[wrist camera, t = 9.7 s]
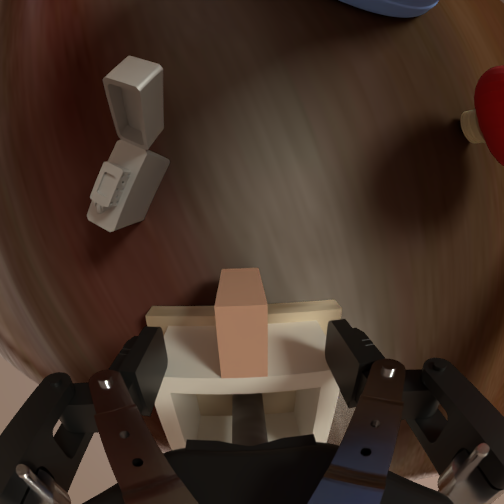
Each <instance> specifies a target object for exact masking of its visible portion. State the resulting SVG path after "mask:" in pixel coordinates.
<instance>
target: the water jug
mask: <svg viewBox="0 0 504 504" xmlns="http://www.w3.org/2000/svg"><path fill="white" fill-rule="evenodd" d="M339 1H341V2H344V3H346V4H349V5H352V6H354V7H357V8H360V9H363V10H366V11H369V12H373V13H377V14H381V15H386V16H391V17H400V18H409V17H416V16H420V15H422V14H424V13H426V12H427V11H429V10H430V9H431V8H433V7H434V6H435V5H436V4H437V3H438V1H439V0H339Z"/></svg>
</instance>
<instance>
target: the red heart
mask: <svg viewBox="0 0 504 504" xmlns="http://www.w3.org/2000/svg"><path fill="white" fill-rule="evenodd" d="M474 103H475V109H474V110H470V111H465V112H463V113H462V115H461V129H462V131H463V133H464V135H465V137H466V138H467V139H468V141H470V142H471V143H483V142H484V143H485V142H486V144H487V146H488V148H489V150H490V152H491V153H492V155H493V156H494V157H495V158H496V160H497V161H498V162H499V163H500V164H501V165H503V166H504V65H503V66H496V67H493V68H490V69H489V70H487V71H486V72H485V73H484V74H483V75H482V76H481V77H480V79H479V81H478V83H477V86H476V89H475V95H474Z"/></svg>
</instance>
